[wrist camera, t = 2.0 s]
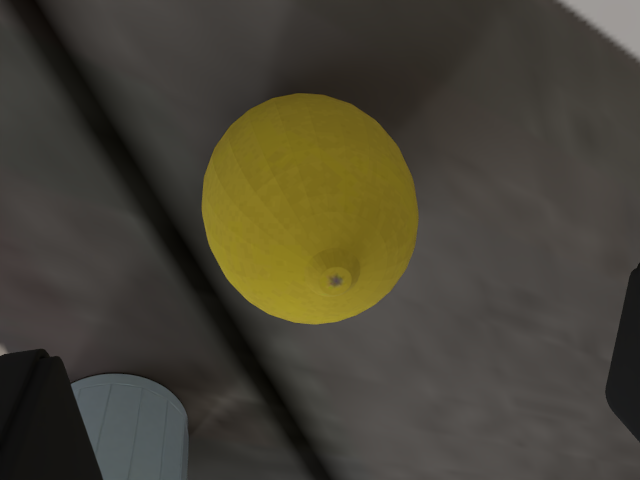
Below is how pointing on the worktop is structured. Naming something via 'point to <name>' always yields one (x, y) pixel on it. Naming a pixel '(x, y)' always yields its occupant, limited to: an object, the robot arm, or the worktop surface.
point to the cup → (134, 427)
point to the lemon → (309, 208)
